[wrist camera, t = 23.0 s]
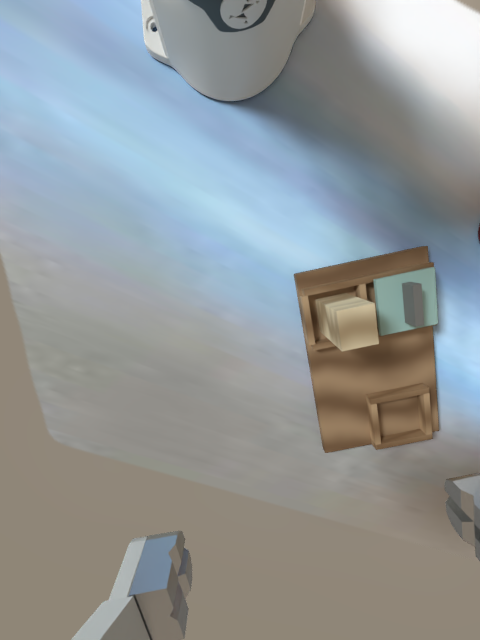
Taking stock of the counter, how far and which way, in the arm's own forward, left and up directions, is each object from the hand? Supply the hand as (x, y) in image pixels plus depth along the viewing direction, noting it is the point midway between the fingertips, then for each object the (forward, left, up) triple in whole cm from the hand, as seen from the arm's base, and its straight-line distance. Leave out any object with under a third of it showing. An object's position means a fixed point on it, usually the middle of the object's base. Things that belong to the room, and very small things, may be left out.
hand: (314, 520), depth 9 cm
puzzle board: (+9, +15, -31) cm, 36 cm away
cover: (+2, +19, -28) cm, 34 cm away
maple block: (+2, +10, -30) cm, 32 cm away
